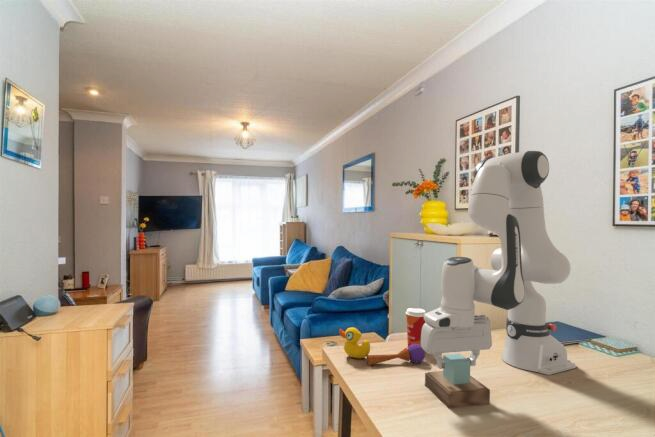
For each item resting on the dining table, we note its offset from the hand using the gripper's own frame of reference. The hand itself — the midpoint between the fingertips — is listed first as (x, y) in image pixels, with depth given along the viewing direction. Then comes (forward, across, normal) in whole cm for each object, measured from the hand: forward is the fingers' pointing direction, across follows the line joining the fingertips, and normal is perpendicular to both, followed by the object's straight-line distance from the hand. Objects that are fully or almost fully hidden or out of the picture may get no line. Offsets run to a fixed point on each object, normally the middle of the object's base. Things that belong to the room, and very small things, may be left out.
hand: (456, 366), depth 92 cm
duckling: (+8, +20, -29) cm, 36 cm away
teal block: (+4, 0, 0) cm, 4 cm away
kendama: (+8, +8, -22) cm, 25 cm away
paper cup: (+8, -5, -33) cm, 34 cm away
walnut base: (+8, 0, 0) cm, 8 cm away
